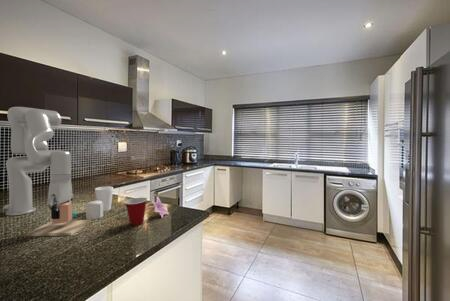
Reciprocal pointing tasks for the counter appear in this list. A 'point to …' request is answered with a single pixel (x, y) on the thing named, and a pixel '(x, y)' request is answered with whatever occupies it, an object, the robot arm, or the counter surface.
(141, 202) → the plastic cup
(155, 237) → the counter surface
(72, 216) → the marble
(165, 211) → the lily
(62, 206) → the pink acorn nut
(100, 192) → the foam cup
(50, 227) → the oak board
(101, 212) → the white domed cap nut
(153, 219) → the counter surface
